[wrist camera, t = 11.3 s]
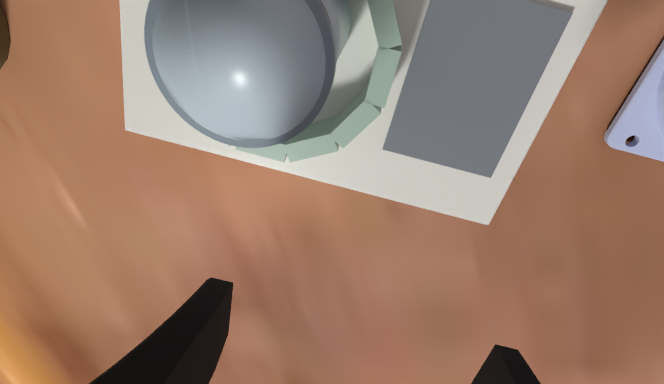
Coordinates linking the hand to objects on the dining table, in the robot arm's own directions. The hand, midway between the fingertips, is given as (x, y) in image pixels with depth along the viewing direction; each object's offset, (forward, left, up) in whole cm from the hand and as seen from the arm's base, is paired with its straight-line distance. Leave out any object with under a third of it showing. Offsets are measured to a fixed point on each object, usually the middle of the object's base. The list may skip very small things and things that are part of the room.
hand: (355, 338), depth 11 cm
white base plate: (+3, -5, -10) cm, 12 cm away
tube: (+5, -6, -9) cm, 12 cm away
